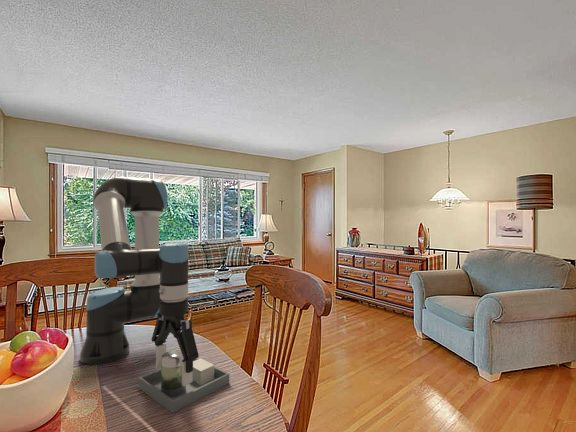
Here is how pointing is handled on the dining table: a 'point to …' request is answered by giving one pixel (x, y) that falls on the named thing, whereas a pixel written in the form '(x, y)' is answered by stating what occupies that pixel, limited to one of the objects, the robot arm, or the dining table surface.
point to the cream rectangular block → (202, 371)
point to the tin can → (172, 373)
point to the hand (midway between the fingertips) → (173, 375)
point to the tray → (191, 394)
